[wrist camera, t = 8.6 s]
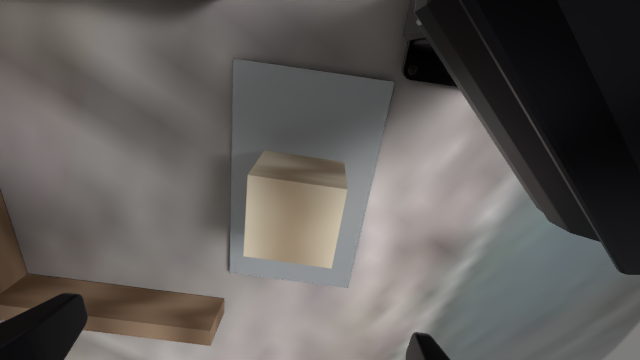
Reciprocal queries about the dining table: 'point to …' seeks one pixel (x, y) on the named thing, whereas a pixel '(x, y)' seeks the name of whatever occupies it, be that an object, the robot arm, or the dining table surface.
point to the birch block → (294, 208)
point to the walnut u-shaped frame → (107, 300)
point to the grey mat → (305, 149)
